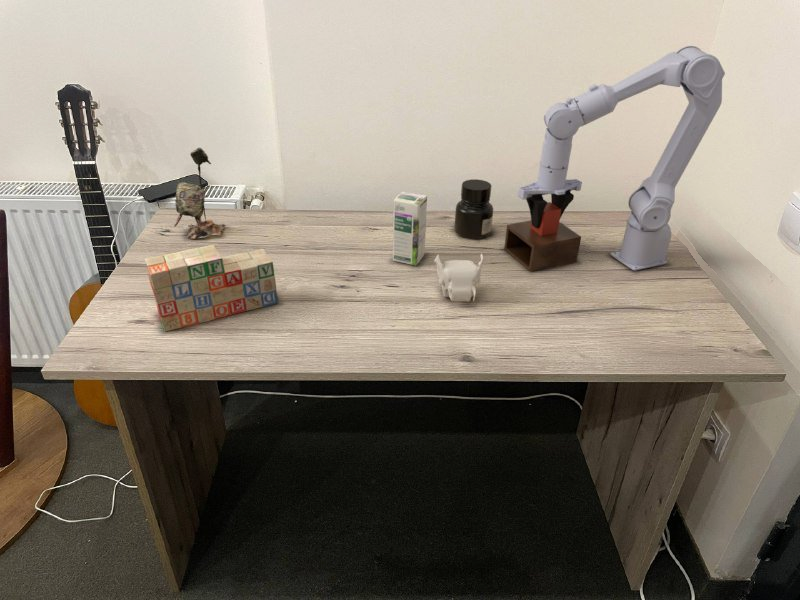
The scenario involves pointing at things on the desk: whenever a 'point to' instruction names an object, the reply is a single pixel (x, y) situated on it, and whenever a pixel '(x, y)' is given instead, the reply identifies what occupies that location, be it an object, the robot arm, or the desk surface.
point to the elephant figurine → (458, 278)
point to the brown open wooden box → (541, 246)
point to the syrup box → (409, 227)
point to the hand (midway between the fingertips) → (544, 224)
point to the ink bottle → (474, 210)
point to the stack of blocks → (209, 284)
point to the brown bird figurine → (195, 203)
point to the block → (549, 220)
